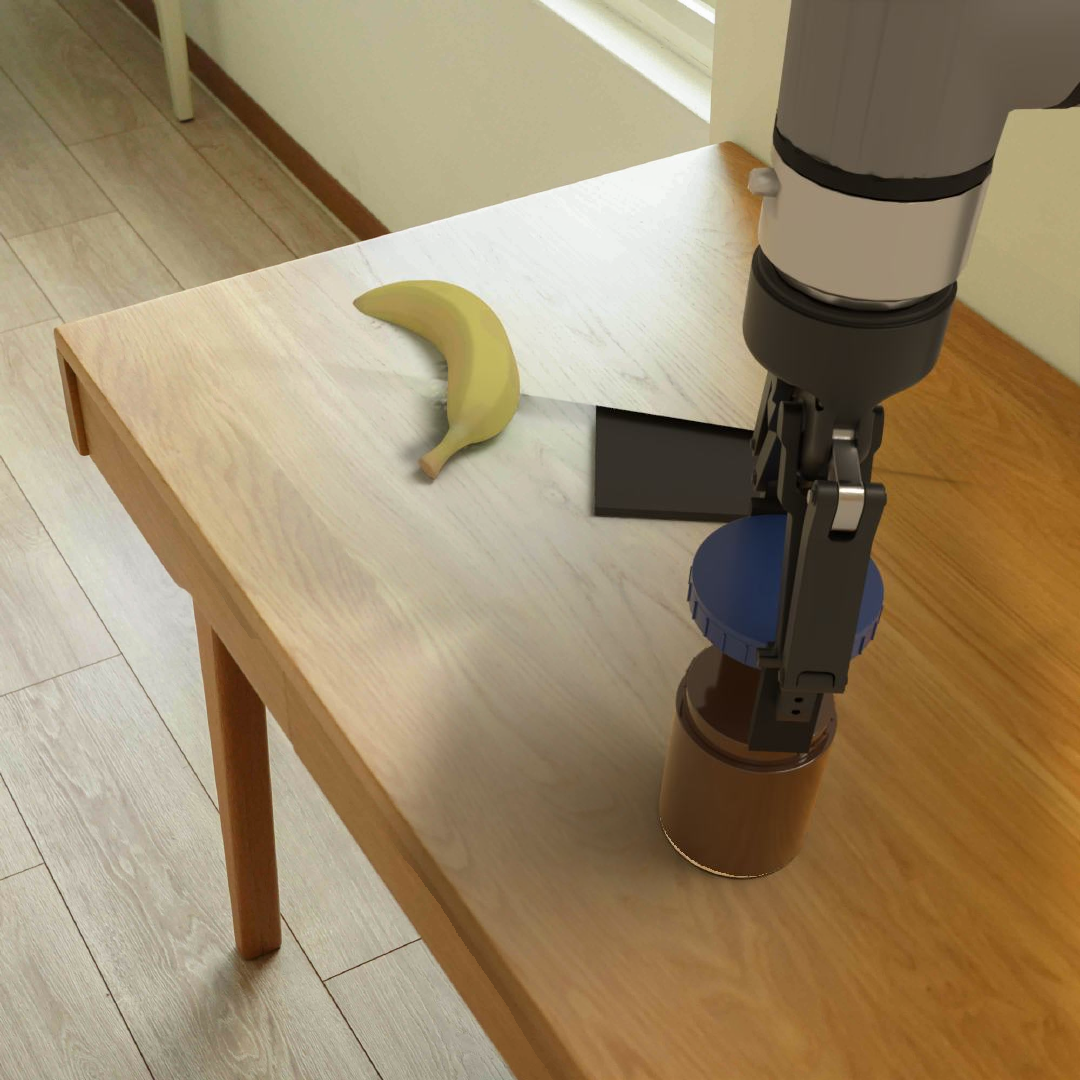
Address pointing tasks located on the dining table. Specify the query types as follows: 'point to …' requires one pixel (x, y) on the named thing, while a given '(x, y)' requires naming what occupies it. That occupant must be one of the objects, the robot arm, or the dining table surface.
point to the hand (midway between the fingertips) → (769, 668)
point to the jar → (736, 773)
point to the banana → (456, 357)
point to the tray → (671, 468)
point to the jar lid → (756, 588)
